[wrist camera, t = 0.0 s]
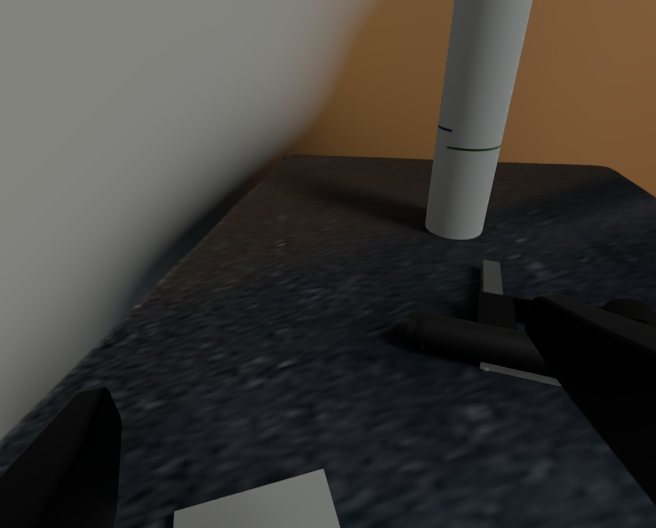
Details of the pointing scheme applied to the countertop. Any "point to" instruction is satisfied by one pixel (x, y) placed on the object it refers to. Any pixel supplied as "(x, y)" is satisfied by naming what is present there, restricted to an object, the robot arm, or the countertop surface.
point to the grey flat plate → (268, 507)
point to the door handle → (499, 330)
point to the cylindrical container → (474, 112)
